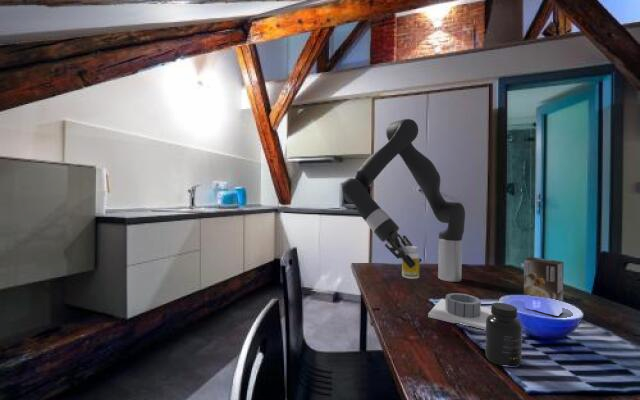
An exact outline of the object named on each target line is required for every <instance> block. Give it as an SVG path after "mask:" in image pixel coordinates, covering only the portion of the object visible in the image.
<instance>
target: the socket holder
mask: <svg viewBox="0 0 640 400" xmlns="http://www.w3.org/2000/svg"><path fill="white" fill-rule="evenodd" d="M481 303H482V300H481V299H479V298H478V297H476V296H474V295H471V294H466V293H460V292H459V293H458V292H454V293H453V292H452V293H447V294H446V295H445V298H440V299H439V301H438V302H437V303H436V304H435V305H434V306H433V308H431V310H430V311H429V312H428V313H427V317H428V318H431V319H436V320H439V321H443V322H448V323H452V324H455V323H462V324H466V325H469V326H473V327H476V328H481V329H485V330H486V319H487V317H488V316H489V315H491V314H492V313H491V307H486V306H482V305H481ZM476 328H475V329H476ZM485 330H484V331H485Z"/></svg>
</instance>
